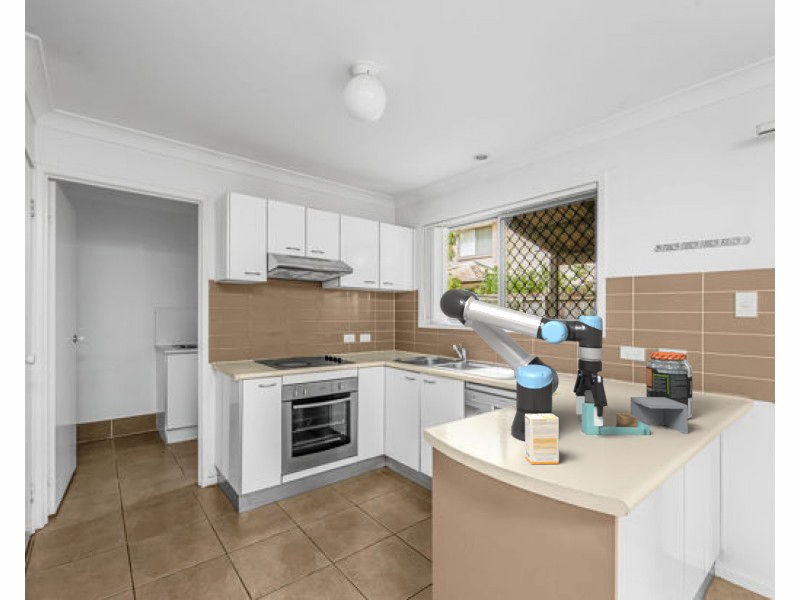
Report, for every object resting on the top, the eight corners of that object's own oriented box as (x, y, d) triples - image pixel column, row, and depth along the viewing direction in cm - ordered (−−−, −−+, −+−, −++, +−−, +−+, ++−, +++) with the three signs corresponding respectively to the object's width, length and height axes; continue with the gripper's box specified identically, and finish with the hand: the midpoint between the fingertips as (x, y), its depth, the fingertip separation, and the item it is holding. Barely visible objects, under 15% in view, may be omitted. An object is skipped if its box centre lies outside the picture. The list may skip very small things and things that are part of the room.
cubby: (650, 433, 136) (650, 404, 136) (630, 423, 148) (630, 396, 148) (687, 433, 136) (687, 405, 136) (664, 423, 148) (664, 397, 148)
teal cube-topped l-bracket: (586, 434, 134) (587, 405, 134) (573, 425, 145) (573, 398, 145) (651, 436, 133) (651, 406, 133) (633, 426, 144) (633, 399, 144)
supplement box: (552, 458, 113) (552, 413, 113) (559, 464, 108) (559, 417, 108) (524, 458, 112) (524, 413, 113) (530, 464, 108) (530, 417, 108)
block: (623, 431, 138) (623, 417, 138) (615, 427, 143) (616, 413, 143) (637, 432, 138) (637, 418, 138) (629, 427, 143) (629, 414, 143)
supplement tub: (701, 418, 155) (701, 354, 156) (675, 422, 149) (675, 355, 150) (662, 408, 170) (662, 350, 170) (637, 412, 164) (637, 351, 165)
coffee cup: (602, 424, 146) (602, 384, 146) (578, 423, 147) (578, 383, 147) (595, 418, 154) (595, 380, 154) (573, 417, 155) (573, 379, 156)
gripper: (620, 365, 124) (618, 431, 123) (584, 355, 148) (583, 410, 148) (596, 364, 124) (595, 430, 124) (564, 354, 149) (563, 409, 148)
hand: (588, 419), depth 136 cm, fingers open, 13 cm apart
